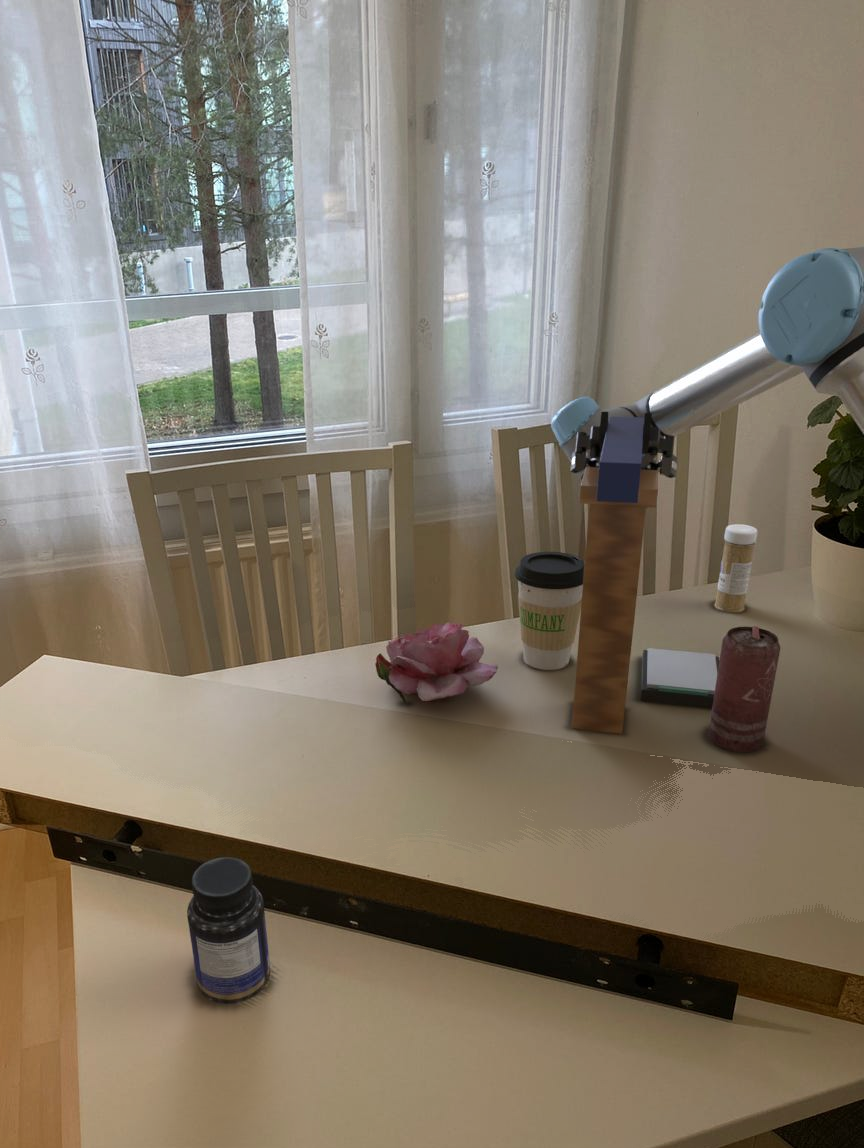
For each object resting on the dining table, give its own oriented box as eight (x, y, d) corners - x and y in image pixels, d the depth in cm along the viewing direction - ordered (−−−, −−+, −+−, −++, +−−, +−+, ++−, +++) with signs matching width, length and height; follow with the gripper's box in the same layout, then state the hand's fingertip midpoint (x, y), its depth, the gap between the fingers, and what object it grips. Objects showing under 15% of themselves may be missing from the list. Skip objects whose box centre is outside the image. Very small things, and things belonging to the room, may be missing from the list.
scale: (716, 669, 125) (719, 652, 124) (722, 712, 115) (725, 693, 114) (641, 662, 128) (643, 645, 127) (640, 703, 117) (642, 685, 116)
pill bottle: (215, 947, 80) (202, 845, 75) (281, 958, 78) (271, 855, 74) (185, 1001, 74) (168, 895, 70) (255, 1014, 73) (243, 907, 68)
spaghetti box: (641, 450, 110) (644, 417, 108) (637, 503, 90) (641, 463, 89) (606, 449, 111) (609, 416, 109) (596, 501, 91) (599, 462, 90)
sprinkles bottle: (711, 603, 146) (722, 523, 140) (740, 604, 145) (753, 523, 140) (717, 614, 142) (730, 532, 136) (748, 615, 141) (761, 532, 136)
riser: (631, 709, 116) (658, 470, 102) (630, 742, 109) (658, 489, 96) (568, 702, 118) (585, 466, 104) (562, 734, 111) (580, 485, 98)
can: (759, 731, 110) (778, 626, 104) (764, 758, 105) (784, 649, 99) (706, 725, 112) (722, 621, 106) (708, 752, 106) (725, 644, 100)
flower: (522, 675, 119) (501, 605, 116) (446, 730, 110) (422, 656, 107) (443, 668, 130) (422, 605, 127) (370, 717, 122) (346, 651, 119)
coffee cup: (498, 654, 131) (502, 555, 125) (558, 642, 134) (565, 546, 128) (532, 683, 123) (538, 580, 116) (595, 670, 126) (604, 569, 119)
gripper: (685, 509, 122) (702, 460, 99) (556, 502, 126) (544, 453, 104) (690, 454, 122) (708, 393, 100) (561, 449, 127) (551, 389, 104)
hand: (625, 424), depth 102 cm, fingers closed on spaghetti box, 4 cm apart
